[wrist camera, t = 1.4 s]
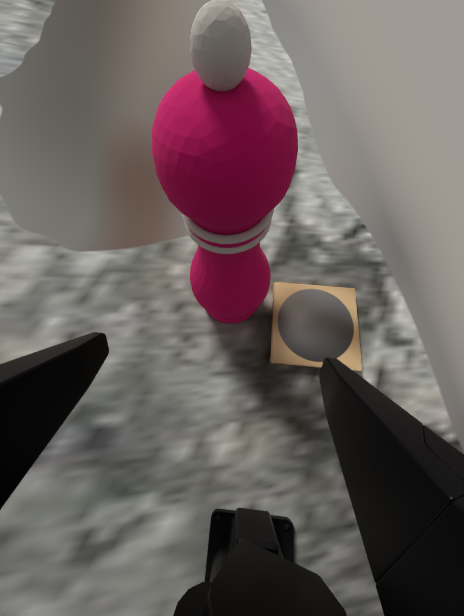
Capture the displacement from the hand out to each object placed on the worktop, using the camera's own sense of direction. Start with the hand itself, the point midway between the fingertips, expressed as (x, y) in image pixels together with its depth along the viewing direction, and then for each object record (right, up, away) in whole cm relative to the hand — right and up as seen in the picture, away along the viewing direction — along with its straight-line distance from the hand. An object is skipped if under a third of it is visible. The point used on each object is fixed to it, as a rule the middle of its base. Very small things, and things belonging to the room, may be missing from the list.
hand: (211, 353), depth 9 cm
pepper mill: (+1, +3, +16) cm, 16 cm away
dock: (+9, 0, +14) cm, 17 cm away
